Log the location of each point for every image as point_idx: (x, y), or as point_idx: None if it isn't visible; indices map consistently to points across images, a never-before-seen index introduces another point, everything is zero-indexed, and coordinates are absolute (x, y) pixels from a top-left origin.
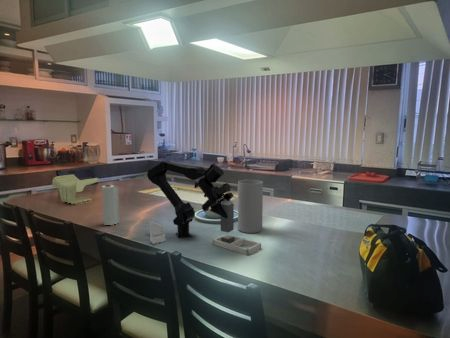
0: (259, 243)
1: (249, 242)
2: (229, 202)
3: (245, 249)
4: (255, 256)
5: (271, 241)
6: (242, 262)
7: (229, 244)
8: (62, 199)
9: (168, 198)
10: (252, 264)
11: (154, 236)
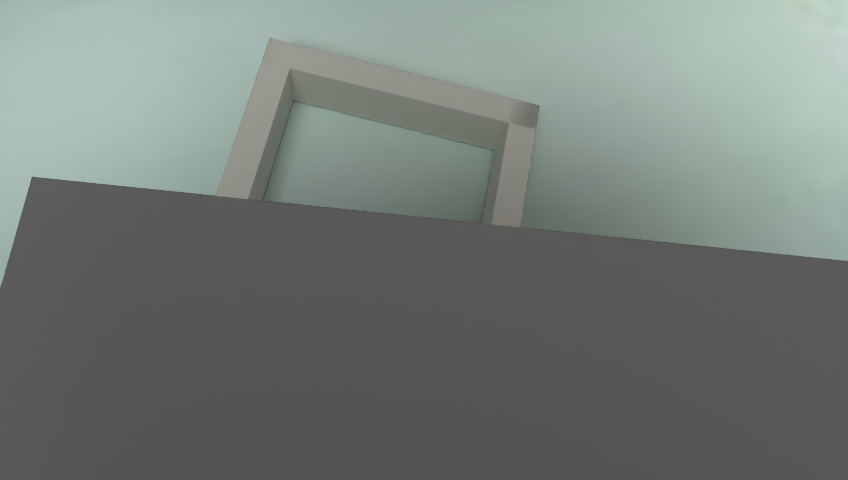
0: (286, 52)
1: (256, 189)
2: (603, 283)
3: (534, 135)
4: (507, 65)
5: (9, 24)
6: (689, 127)
7: None
8: None
9: None
10: (673, 42)
11: None
